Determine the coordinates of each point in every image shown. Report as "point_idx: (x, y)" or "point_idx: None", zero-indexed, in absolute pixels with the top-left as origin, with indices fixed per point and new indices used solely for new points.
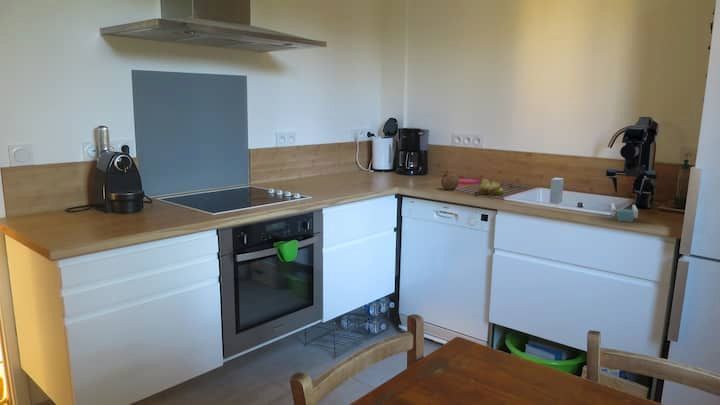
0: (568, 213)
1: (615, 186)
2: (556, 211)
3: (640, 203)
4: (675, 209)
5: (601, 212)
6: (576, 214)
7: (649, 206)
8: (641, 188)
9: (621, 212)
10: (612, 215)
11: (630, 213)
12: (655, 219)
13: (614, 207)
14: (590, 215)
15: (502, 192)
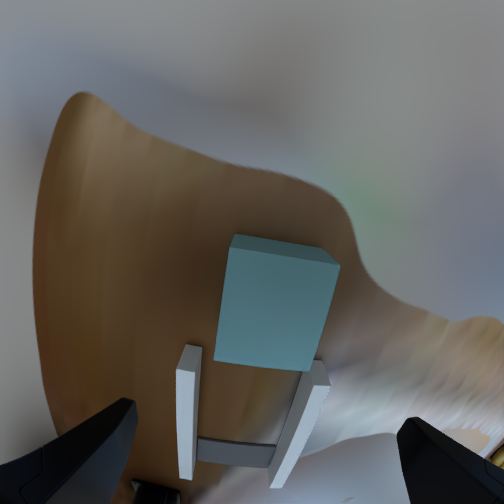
0: (485, 330)
1: (468, 456)
2: (501, 346)
3: (159, 497)
4: None
5: (344, 414)
6: (469, 325)
7: (134, 488)
8: (94, 463)
9: (321, 260)
10: (319, 362)
11: (254, 249)
12: (101, 336)
13: (300, 429)
14: (425, 331)
15: (496, 456)
